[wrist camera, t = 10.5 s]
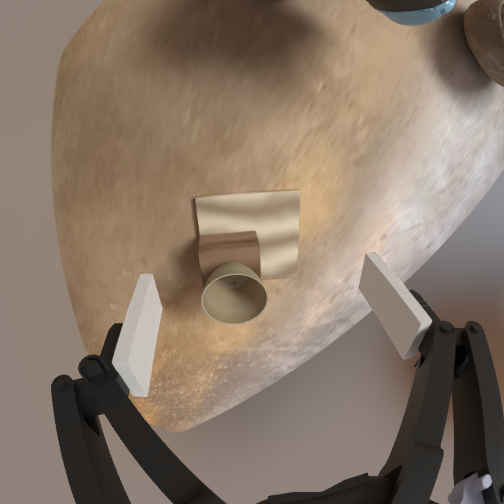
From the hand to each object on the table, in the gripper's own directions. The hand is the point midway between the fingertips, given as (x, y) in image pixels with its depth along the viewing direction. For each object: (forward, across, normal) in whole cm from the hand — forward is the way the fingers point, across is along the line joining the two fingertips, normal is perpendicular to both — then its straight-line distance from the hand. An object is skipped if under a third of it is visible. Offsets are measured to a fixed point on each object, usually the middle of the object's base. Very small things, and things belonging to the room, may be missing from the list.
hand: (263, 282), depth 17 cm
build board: (+33, +2, -14) cm, 36 cm away
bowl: (+33, +60, +35) cm, 76 cm away
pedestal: (+32, -2, -17) cm, 36 cm away
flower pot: (+26, -2, -17) cm, 31 cm away
